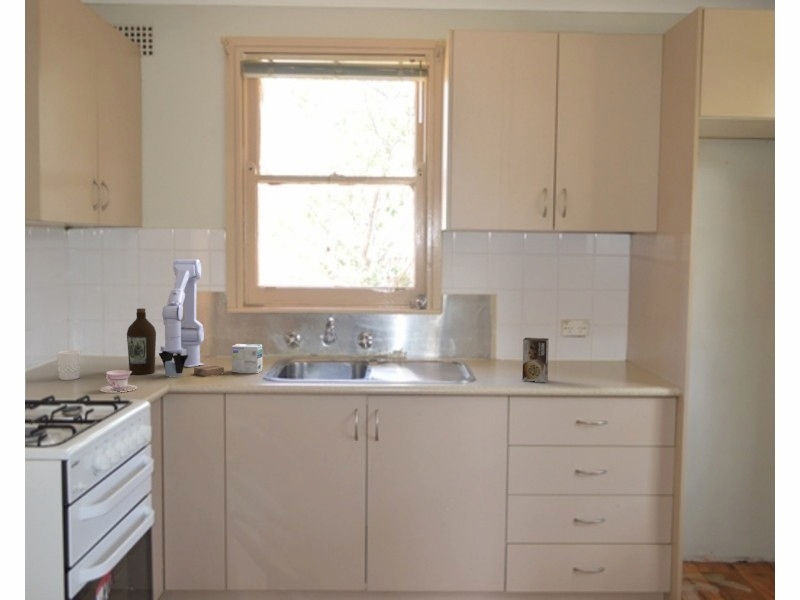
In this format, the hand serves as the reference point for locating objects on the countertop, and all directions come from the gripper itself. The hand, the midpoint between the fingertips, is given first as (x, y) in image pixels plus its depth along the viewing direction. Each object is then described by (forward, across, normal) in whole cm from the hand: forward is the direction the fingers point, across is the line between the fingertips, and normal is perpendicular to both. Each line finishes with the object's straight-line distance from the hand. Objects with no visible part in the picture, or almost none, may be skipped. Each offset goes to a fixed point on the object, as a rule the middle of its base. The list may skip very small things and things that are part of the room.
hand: (173, 371), depth 268 cm
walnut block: (+2, +7, +11) cm, 13 cm away
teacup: (+2, +8, -26) cm, 28 cm away
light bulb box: (+2, +14, +24) cm, 28 cm away
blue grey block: (+2, 0, 0) cm, 2 cm away
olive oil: (+2, -14, -5) cm, 15 cm away
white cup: (+2, -23, -29) cm, 37 cm away
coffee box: (+2, +107, +87) cm, 138 cm away
